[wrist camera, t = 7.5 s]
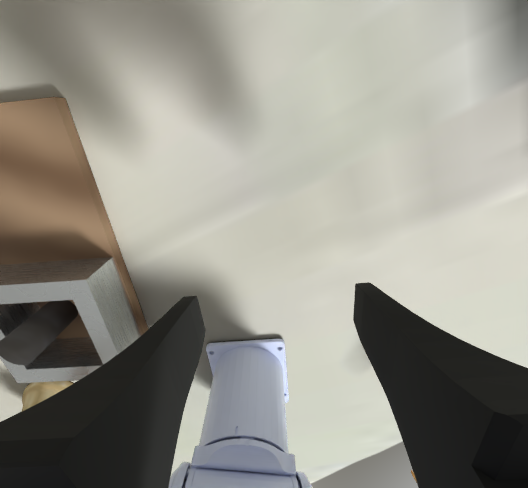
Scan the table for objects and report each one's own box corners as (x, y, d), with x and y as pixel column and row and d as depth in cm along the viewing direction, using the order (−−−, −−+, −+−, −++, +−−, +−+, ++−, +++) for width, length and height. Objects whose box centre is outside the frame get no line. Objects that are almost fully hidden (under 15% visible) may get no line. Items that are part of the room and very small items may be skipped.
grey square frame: (145, 346, 25) (128, 377, 22) (48, 351, 26) (17, 383, 23) (112, 256, 21) (86, 279, 18) (-2, 265, 22) (-49, 288, 19)
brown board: (152, 341, 27) (123, 396, 21) (32, 349, 27) (-27, 405, 22) (65, 98, 17) (-27, 85, 12) (-113, 118, 18) (-277, 114, 13)
